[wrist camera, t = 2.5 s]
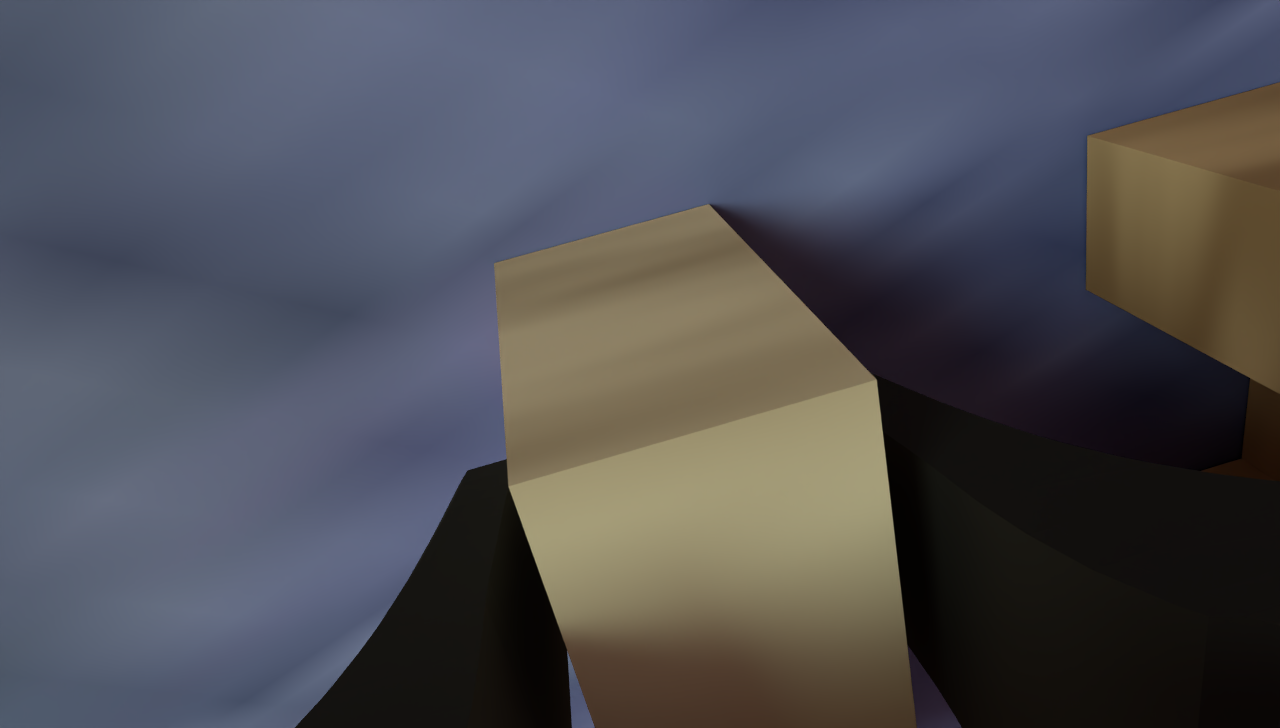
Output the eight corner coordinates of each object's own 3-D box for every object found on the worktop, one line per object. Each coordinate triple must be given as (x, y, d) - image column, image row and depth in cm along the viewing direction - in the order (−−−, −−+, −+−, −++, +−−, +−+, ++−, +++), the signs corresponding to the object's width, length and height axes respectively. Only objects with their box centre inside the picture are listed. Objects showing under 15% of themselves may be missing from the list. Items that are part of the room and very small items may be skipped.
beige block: (807, 712, 16) (953, 1039, 11) (654, 759, 16) (732, 1112, 11) (709, 203, 12) (876, 380, 7) (494, 262, 12) (508, 486, 7)
